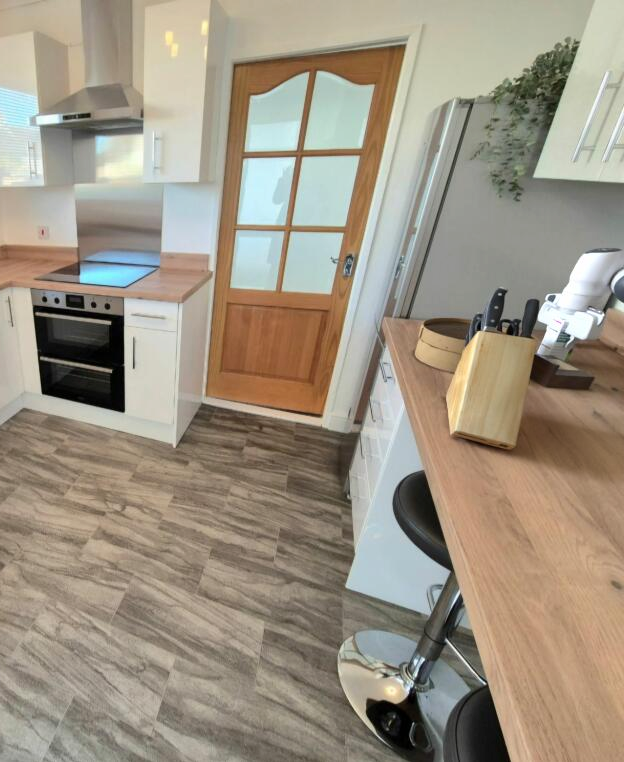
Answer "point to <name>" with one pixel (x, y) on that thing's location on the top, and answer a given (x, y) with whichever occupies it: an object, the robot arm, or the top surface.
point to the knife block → (493, 375)
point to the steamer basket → (443, 342)
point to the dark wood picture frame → (558, 373)
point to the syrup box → (556, 340)
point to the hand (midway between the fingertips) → (557, 344)
